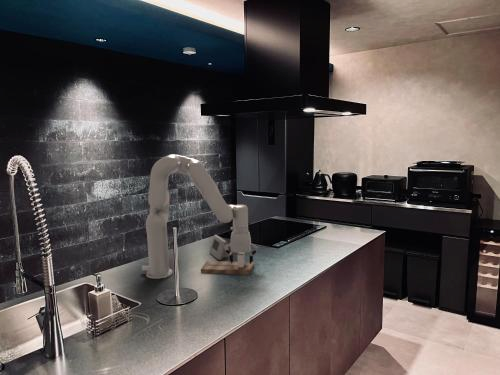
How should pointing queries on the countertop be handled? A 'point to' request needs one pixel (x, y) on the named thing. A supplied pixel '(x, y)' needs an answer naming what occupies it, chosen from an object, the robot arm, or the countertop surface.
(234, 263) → the console board
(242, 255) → the fader knob
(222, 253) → the digital clock
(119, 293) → the countertop surface
